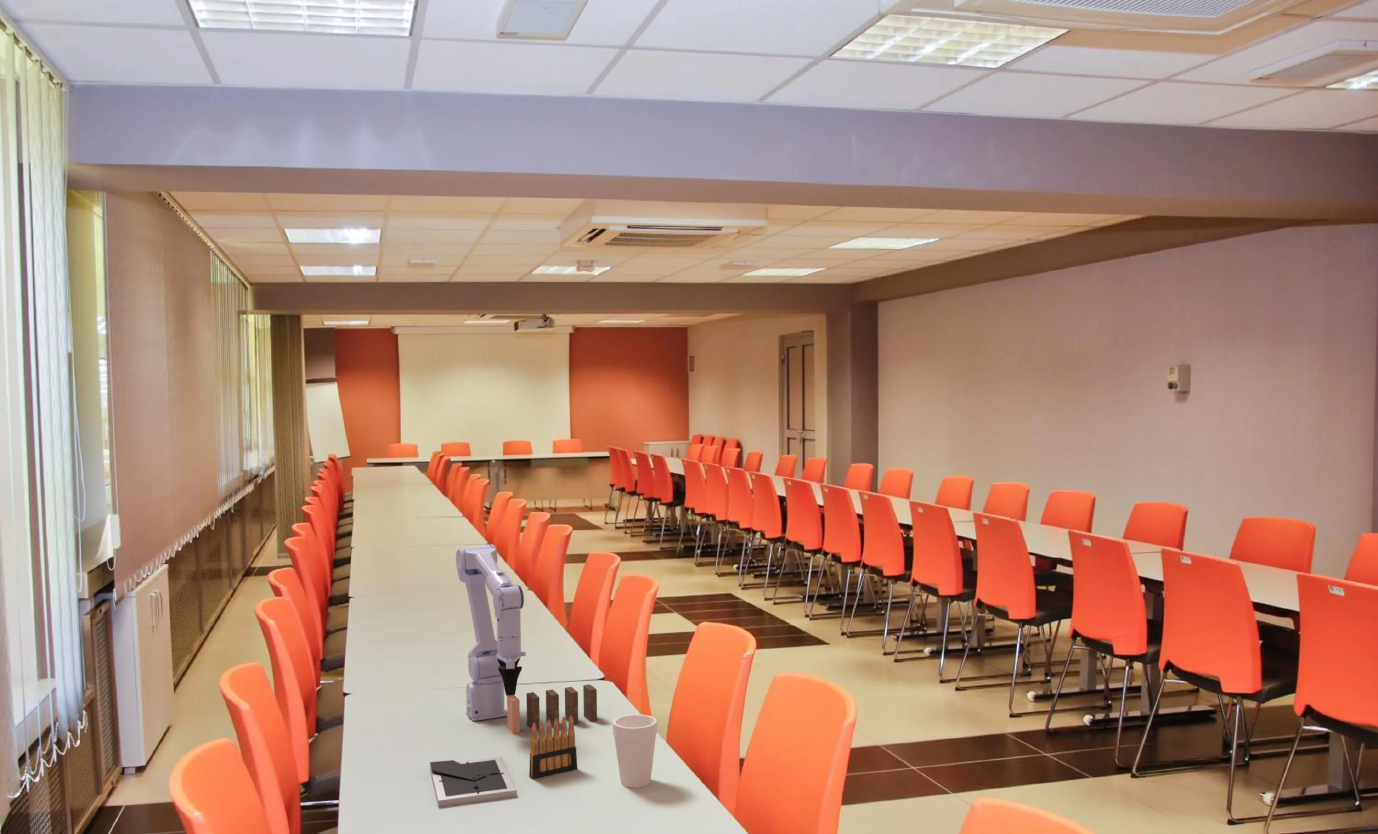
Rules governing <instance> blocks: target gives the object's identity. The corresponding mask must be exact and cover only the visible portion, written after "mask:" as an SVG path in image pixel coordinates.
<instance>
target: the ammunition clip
mask: <svg viewBox="0 0 1378 834" xmlns="http://www.w3.org/2000/svg"><path fill="white" fill-rule="evenodd" d="M552 729H553V730H552ZM545 733H546V734H545ZM577 770H578V754H577V746H576V732H575V724H574V721H573V717H572V715H570V718H569V722H568V727H567V720H566V719H565V715H564V716H562V718H561V725H560V722H559V723H558V719H557V718H556V719H555V722H554V727H553V728H552V726H551V722H550V720H548V722H546V732H545V725H544V722H543V720H540V726H539V730H537V728H536V724H535V722H534V723H533V726H532V729H531V736H530V754H529V771H528V773H529V775H528V776H529V777H530V778H531V779H532V780H537V779H541V778H545V777H550V776H554V775H558V774H563V773H567V772H572V771H577Z"/></svg>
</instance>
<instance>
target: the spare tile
mask: <svg viewBox="0 0 1378 834" xmlns="http://www.w3.org/2000/svg"><path fill="white" fill-rule="evenodd" d="M506 705H507V706H506V708H507V709H506V711H507V716H506V717H507V721H506V722H507V729H508V730H509V731H510V732H511V733H512V734H514V735H515V734H520V733H521V717H520V716H521V714H520V713H521V712H520V709H521V708H520V707H521V706H520V699H519V698H518V697H517V696H516V694H515V695H510V696H506Z"/></svg>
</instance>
